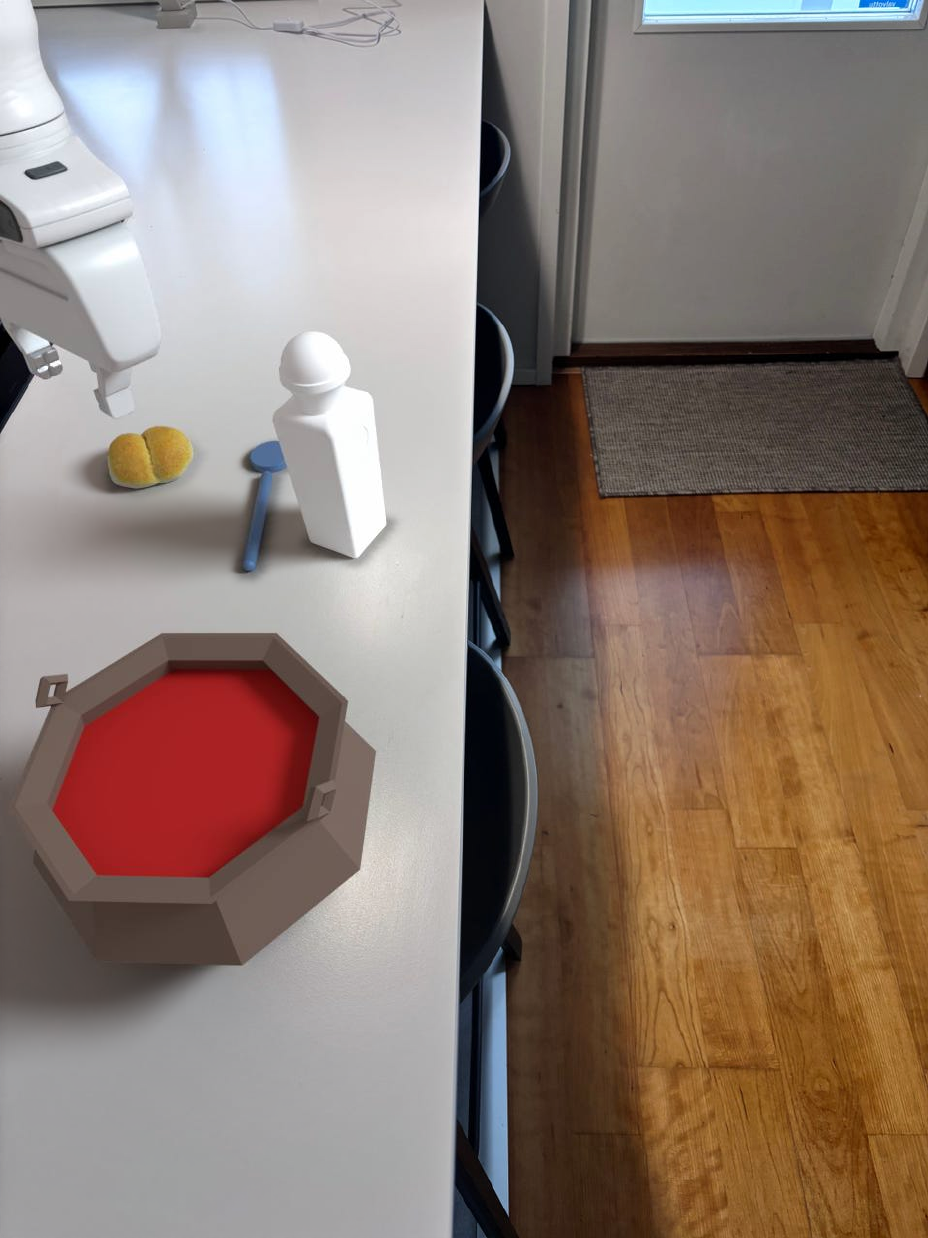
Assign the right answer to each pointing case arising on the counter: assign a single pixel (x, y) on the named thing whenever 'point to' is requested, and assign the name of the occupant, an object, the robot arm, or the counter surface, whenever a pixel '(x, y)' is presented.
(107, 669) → the octagonal pot
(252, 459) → the spoon
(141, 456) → the bread roll
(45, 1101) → the counter surface
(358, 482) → the white square bottle
